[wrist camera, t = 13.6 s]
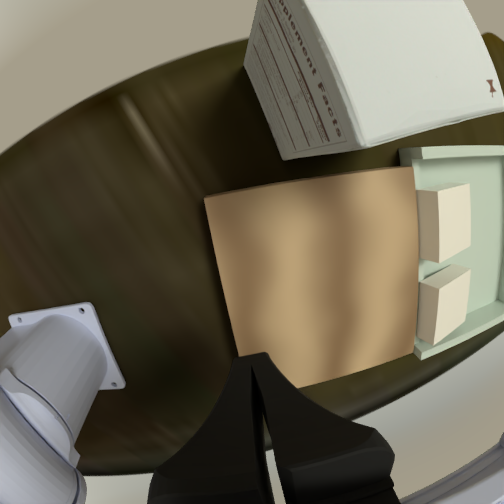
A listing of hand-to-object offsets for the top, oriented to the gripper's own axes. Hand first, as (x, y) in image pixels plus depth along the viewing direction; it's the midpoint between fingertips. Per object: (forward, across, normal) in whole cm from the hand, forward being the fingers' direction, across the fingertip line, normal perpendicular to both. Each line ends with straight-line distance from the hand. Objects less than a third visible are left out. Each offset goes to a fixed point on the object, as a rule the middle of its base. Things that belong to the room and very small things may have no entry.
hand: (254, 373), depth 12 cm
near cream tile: (+9, -16, -2) cm, 18 cm away
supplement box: (+10, -7, -12) cm, 17 cm away
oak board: (+10, -6, +1) cm, 12 cm away
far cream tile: (+9, -16, +5) cm, 19 cm away
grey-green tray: (+10, -20, 0) cm, 22 cm away
